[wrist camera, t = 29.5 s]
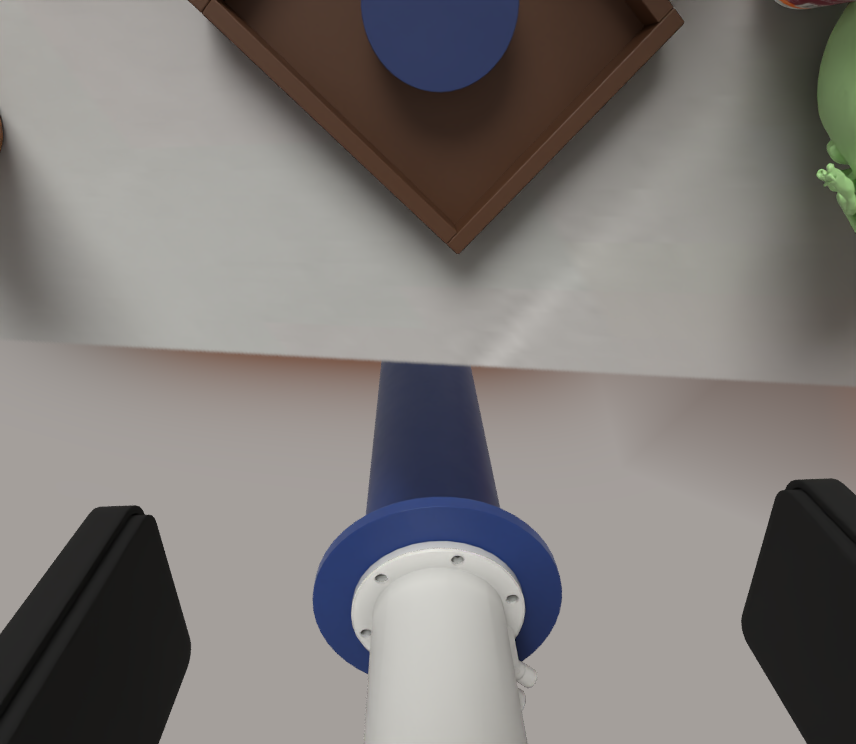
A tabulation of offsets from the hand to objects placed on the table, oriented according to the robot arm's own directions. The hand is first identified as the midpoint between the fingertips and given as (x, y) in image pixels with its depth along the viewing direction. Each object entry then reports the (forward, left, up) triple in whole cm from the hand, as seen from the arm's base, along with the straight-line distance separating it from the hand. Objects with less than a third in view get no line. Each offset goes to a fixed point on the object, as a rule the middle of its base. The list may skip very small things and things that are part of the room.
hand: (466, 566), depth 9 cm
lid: (+6, -7, -22) cm, 23 cm away
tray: (+6, -7, -24) cm, 26 cm away
